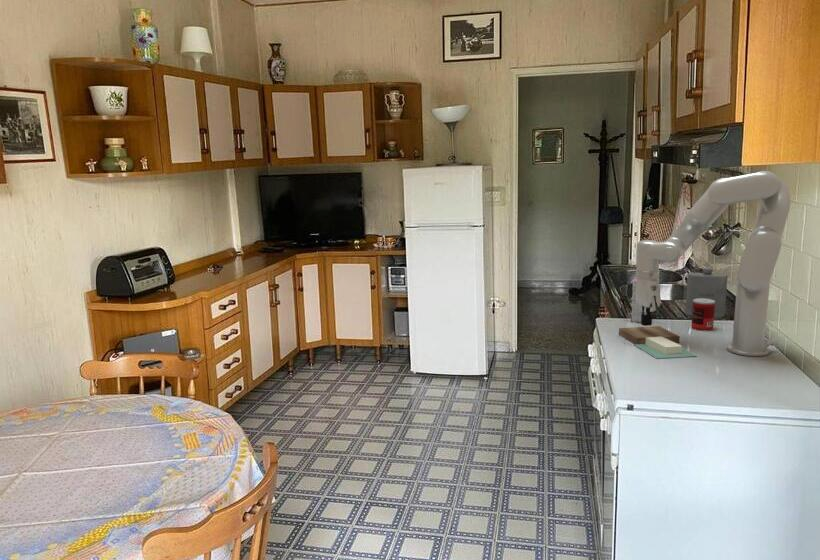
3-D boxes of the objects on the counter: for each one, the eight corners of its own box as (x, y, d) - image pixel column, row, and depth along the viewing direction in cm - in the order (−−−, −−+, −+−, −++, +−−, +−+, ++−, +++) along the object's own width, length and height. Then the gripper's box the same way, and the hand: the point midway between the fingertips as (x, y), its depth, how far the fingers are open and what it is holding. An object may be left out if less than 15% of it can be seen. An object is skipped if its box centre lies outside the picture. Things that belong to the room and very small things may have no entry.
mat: (671, 343, 224) (671, 342, 224) (696, 356, 209) (696, 355, 209) (633, 345, 223) (633, 344, 223) (656, 358, 207) (656, 358, 207)
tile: (660, 343, 224) (661, 336, 223) (681, 353, 212) (682, 345, 212) (645, 344, 222) (645, 337, 222) (665, 354, 211) (666, 347, 210)
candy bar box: (635, 316, 264) (637, 277, 261) (648, 317, 262) (650, 278, 259) (630, 321, 255) (632, 281, 252) (643, 323, 252) (645, 282, 249)
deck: (659, 332, 238) (659, 326, 238) (679, 342, 225) (679, 336, 224) (618, 334, 237) (619, 328, 236) (636, 345, 223) (636, 338, 222)
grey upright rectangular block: (685, 316, 262) (688, 268, 259) (684, 313, 268) (687, 266, 264) (725, 318, 257) (729, 270, 254) (723, 315, 263) (727, 268, 259)
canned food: (713, 327, 245) (715, 299, 243) (712, 331, 238) (714, 303, 236) (692, 324, 249) (693, 297, 247) (690, 329, 242) (692, 301, 240)
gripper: (668, 277, 219) (666, 329, 222) (647, 271, 234) (646, 319, 237) (647, 278, 218) (646, 330, 221) (627, 272, 233) (627, 321, 236)
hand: (646, 324), depth 229 cm, fingers closed
